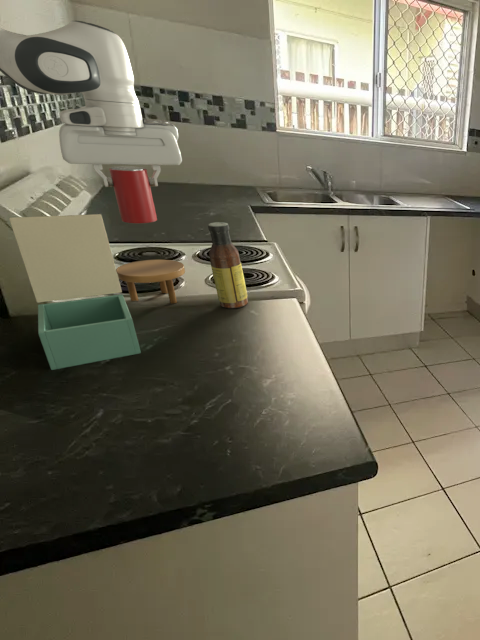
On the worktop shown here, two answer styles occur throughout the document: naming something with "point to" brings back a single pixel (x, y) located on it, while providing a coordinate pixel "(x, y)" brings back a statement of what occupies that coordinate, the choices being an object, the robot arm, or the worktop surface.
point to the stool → (151, 275)
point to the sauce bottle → (226, 267)
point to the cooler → (86, 331)
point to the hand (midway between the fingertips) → (131, 186)
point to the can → (133, 194)
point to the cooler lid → (66, 256)
